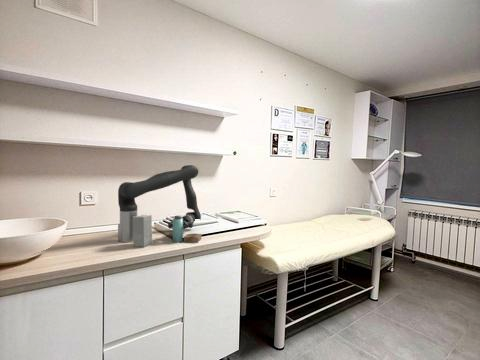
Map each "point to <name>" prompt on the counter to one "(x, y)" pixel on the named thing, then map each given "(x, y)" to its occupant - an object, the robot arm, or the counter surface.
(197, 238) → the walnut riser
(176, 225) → the teal bottle
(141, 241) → the skincare box
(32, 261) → the counter surface
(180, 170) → the robot arm
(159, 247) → the counter surface
